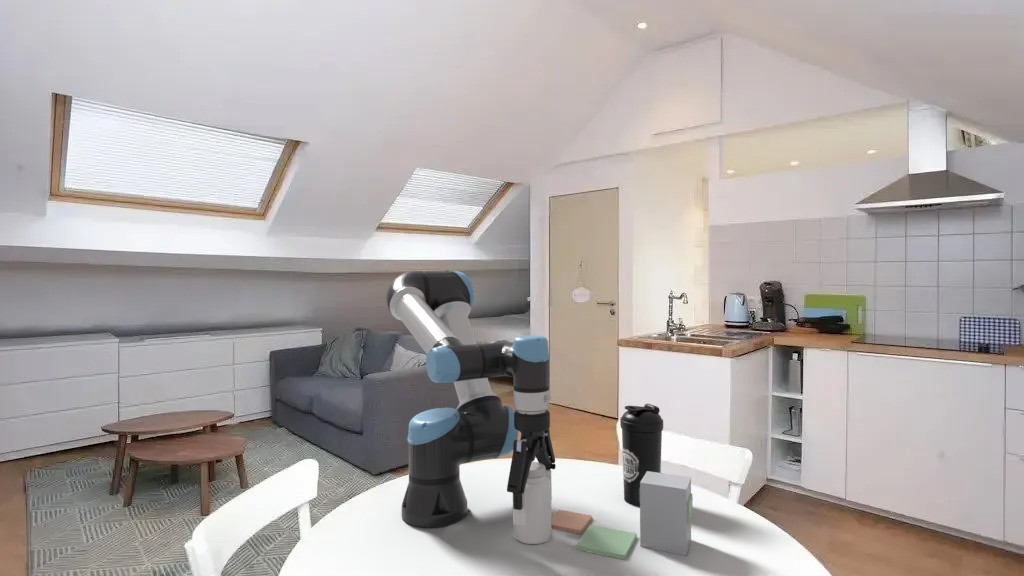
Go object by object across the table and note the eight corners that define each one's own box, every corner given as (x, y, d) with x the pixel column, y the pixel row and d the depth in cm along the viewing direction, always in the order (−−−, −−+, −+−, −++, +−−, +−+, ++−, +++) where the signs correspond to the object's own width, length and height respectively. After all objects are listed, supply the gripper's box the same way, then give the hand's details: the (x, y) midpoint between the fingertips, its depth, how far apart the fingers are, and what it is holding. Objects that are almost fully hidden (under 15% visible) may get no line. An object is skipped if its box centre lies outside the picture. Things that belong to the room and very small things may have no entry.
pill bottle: (549, 547, 112) (548, 473, 111) (510, 543, 113) (509, 471, 113) (553, 529, 120) (553, 460, 119) (517, 526, 121) (517, 458, 121)
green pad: (575, 549, 111) (575, 545, 111) (590, 528, 120) (590, 524, 120) (625, 559, 107) (625, 555, 107) (636, 537, 116) (636, 533, 116)
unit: (638, 545, 112) (638, 482, 112) (645, 531, 118) (645, 470, 118) (688, 555, 108) (688, 489, 108) (693, 540, 114) (693, 477, 114)
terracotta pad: (545, 527, 121) (545, 523, 121) (558, 512, 128) (558, 509, 128) (580, 534, 117) (580, 530, 117) (592, 518, 124) (592, 515, 124)
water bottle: (612, 495, 137) (612, 403, 137) (646, 489, 141) (646, 399, 141) (637, 511, 128) (636, 413, 127) (672, 504, 132) (672, 408, 131)
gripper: (524, 426, 103) (525, 539, 103) (568, 399, 125) (569, 492, 126) (488, 422, 106) (490, 532, 106) (538, 396, 129) (539, 487, 129)
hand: (533, 511), depth 116 cm, fingers open, 13 cm apart
